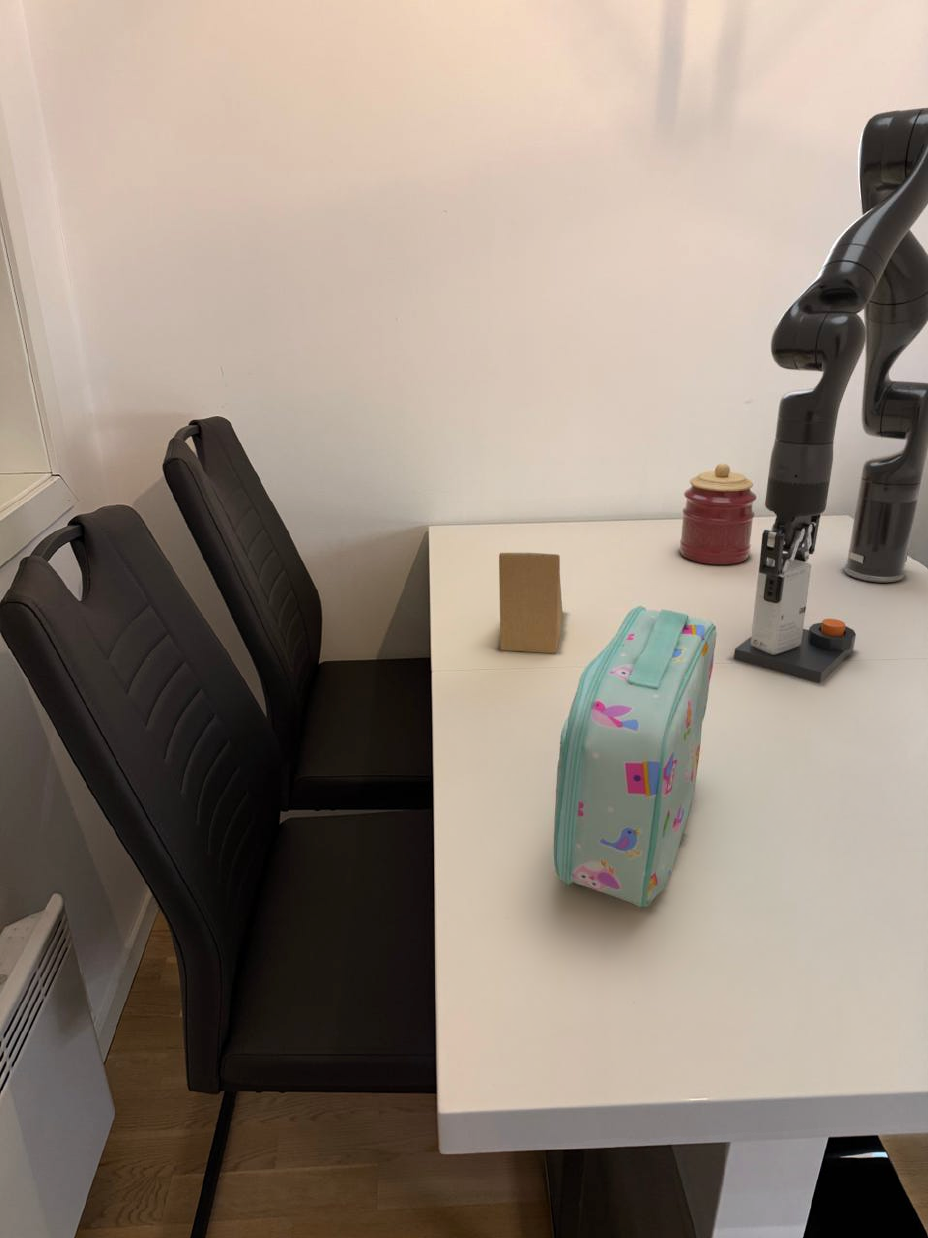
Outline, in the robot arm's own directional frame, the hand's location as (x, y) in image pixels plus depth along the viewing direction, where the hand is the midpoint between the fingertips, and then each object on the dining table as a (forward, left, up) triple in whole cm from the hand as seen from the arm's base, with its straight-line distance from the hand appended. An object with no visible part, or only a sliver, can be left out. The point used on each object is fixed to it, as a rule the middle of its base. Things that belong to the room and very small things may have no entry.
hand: (782, 593), depth 115 cm
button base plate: (-2, +2, -10) cm, 10 cm away
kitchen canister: (-37, -27, -10) cm, 47 cm away
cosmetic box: (0, 0, -8) cm, 8 cm away
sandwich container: (+14, -32, -10) cm, 36 cm away
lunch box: (+48, +5, -10) cm, 49 cm away
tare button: (-6, +6, -6) cm, 10 cm away
